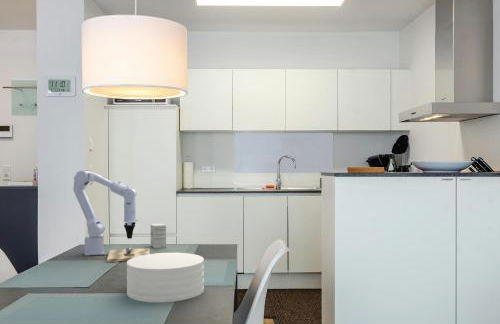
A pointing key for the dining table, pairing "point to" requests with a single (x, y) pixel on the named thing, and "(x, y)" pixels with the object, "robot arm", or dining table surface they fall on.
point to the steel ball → (128, 250)
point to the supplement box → (158, 235)
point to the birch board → (126, 254)
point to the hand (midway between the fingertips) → (129, 237)
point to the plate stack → (165, 277)
